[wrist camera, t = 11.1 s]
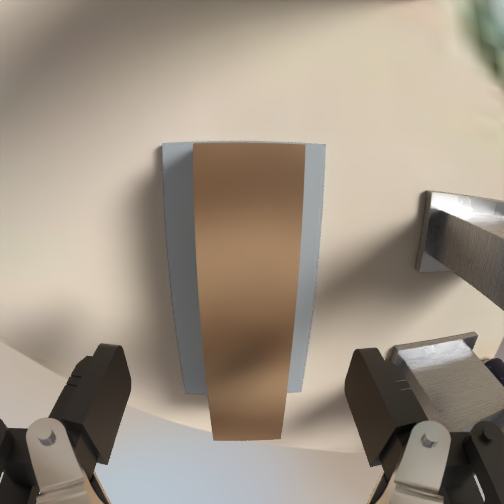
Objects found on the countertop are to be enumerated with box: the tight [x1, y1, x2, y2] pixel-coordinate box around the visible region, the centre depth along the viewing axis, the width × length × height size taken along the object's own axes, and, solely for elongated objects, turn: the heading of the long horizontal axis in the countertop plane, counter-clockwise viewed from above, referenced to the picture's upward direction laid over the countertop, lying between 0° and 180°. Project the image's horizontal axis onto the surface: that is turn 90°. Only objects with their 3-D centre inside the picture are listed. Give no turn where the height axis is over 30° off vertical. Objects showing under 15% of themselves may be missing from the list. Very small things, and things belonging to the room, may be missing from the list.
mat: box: [162, 141, 326, 394], centre depth 17 cm, size 16×8×1 cm, turn 179°
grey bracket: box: [390, 332, 504, 434], centre depth 16 cm, size 5×8×11 cm, turn 89°
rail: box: [193, 142, 306, 441], centre depth 15 cm, size 16×4×4 cm, turn 179°
